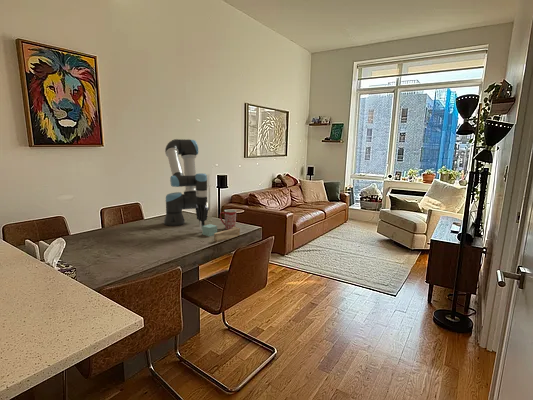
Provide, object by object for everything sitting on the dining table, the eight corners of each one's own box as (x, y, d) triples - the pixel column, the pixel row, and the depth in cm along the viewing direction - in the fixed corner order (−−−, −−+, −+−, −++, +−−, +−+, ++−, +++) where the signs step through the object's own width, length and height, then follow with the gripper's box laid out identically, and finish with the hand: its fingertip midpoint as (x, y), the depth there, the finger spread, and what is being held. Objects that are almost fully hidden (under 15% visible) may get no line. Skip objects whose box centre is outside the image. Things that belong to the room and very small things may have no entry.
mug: (238, 227, 233) (238, 209, 231) (233, 230, 225) (233, 212, 222) (222, 226, 237) (222, 208, 235) (217, 229, 228) (217, 210, 226)
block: (202, 234, 215) (202, 226, 214) (210, 232, 220) (210, 224, 219) (209, 236, 210) (209, 227, 209) (217, 234, 216) (217, 225, 215)
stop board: (212, 240, 202) (212, 232, 201) (234, 234, 217) (234, 226, 216) (217, 242, 199) (217, 234, 198) (239, 235, 214) (239, 228, 213)
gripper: (191, 195, 217) (191, 229, 221) (203, 198, 209) (203, 232, 213) (199, 194, 223) (200, 227, 227) (212, 196, 215) (212, 230, 218)
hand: (202, 229), depth 220 cm, fingers closed
